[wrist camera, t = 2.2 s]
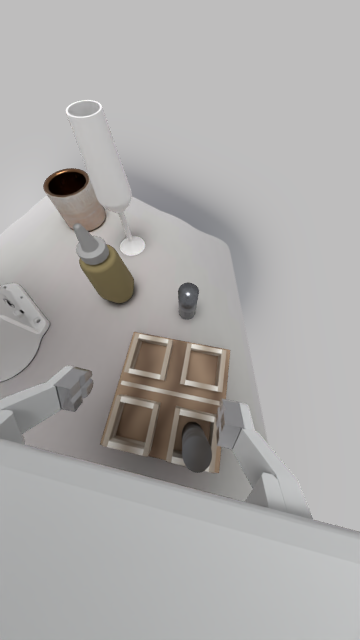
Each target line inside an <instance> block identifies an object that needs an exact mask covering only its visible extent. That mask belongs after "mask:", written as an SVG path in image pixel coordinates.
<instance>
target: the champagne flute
mask: <svg viewBox="0 0 360 640" xmlns="http://www.w3.org/2000/svg"><path fill="white" fill-rule="evenodd" d="M66 113H67V116H68V119H69V122H70V125H71V127H72V130H73V133H74V136H75V139H76V141H77V144H78V147H79V150H80V152H81V155H82V158H83V161H84V164H85V166H86V169H87V172H88V175H89V178H90V180H91V183H92V186H93V189H94V192H95V194H96V197H97V200H98V201H99V203H100V204H101V205H102V206H103V207H105V208H106V209H108V210H110V211H112V212H115V213H118V214H119V217H120V220H121V223H122V225H123V228H124V231H125V233H126V236H127V238H125V239H124V240H123V241H122V242H121V244H120V250H121V252H122V253H124V254H125V255H128V256H134V255H137V254H139V253H141V252H142V251H143V250H144V248H145V242H144V240H143V239H142V238H140V237H137V236H131V233H130V230H129V227H128V224H127V221H126V218H125V215H124V211H125V209H126V208H127V207H128V205H129V204H130V201H131V197H132V192H131V188H130V186H129V183H128V180H127V177H126V175H125V172H124V168H123V166H122V163H121V160H120V157H119V154H118V151H117V149H116V146H115V143H114V140H113V137H112V134H111V131H110V129H109V126H108V123H107V120H106V117H105V115H104V111H103V108H102V106H101V104H100V103H99V102H96V101H92V100H83V101H78V102H75V103H72V104H71V105H69V106H68V107H67V108H66Z"/></svg>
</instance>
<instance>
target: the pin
mask: <svg viewBox="0 0 360 640" xmlns="http://www.w3.org/2000/svg"><path fill="white" fill-rule="evenodd" d="M198 294H199V290H198V288H197V286H196V285H194V284H192V283H184V284H182V285H181V286H180V287H179V290H178V298H179V315H180V316H181V317H182V318H183V319H191V318H192V317H193V316H194V315H195V310H196V305H197V300H198Z"/></svg>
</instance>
